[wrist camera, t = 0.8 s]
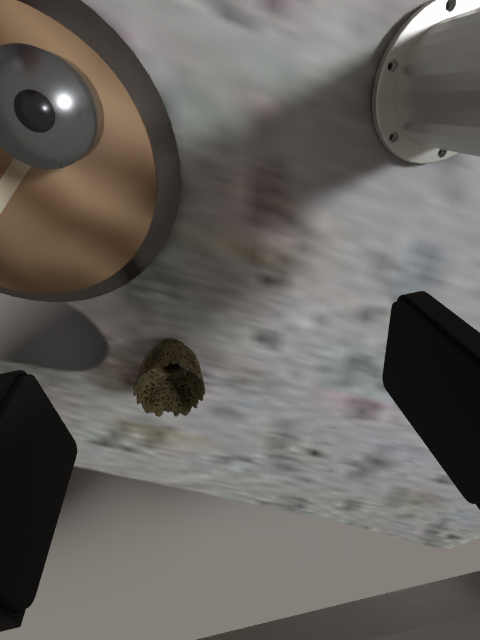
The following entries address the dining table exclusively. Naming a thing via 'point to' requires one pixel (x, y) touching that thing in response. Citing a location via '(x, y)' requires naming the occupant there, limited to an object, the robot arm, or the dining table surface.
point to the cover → (46, 108)
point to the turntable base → (84, 22)
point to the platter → (75, 181)
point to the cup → (169, 379)
